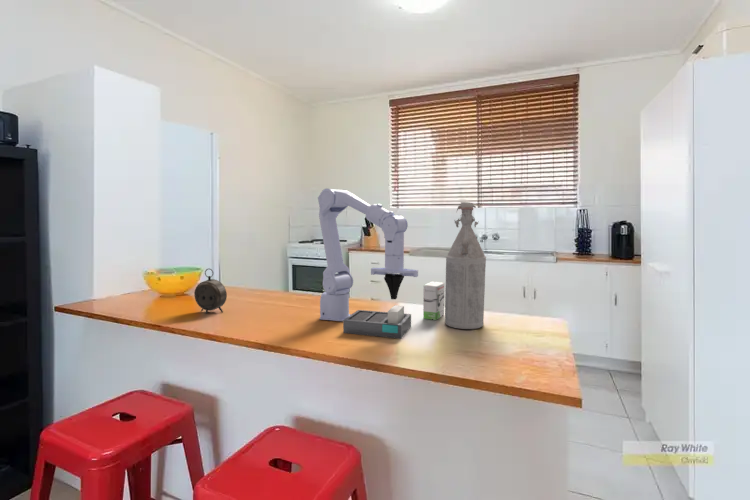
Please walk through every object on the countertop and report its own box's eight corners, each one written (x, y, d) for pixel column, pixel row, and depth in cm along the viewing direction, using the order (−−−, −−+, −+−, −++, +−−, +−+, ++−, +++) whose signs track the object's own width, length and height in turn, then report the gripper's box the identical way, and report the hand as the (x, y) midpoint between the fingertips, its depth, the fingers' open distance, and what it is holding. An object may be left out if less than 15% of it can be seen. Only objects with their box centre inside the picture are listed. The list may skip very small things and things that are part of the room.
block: (387, 330, 117) (387, 311, 116) (394, 323, 124) (394, 305, 124) (397, 331, 116) (397, 312, 115) (403, 324, 123) (404, 305, 123)
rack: (342, 333, 118) (342, 320, 118) (358, 321, 131) (358, 309, 130) (400, 339, 112) (401, 325, 112) (411, 326, 125) (411, 314, 125)
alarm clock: (228, 311, 144) (226, 268, 142) (219, 315, 139) (217, 270, 137) (202, 309, 146) (200, 267, 145) (192, 313, 141) (190, 269, 140)
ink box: (436, 320, 132) (436, 286, 131) (422, 318, 134) (423, 284, 133) (444, 314, 139) (445, 282, 138) (431, 313, 142) (431, 280, 141)
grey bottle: (442, 330, 121) (444, 201, 117) (446, 315, 138) (448, 202, 134) (484, 333, 118) (488, 200, 114) (484, 318, 134) (487, 202, 131)
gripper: (367, 255, 118) (367, 299, 119) (414, 257, 113) (414, 303, 115) (374, 253, 124) (374, 295, 126) (419, 254, 120) (419, 298, 121)
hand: (394, 298), depth 121 cm, fingers closed
